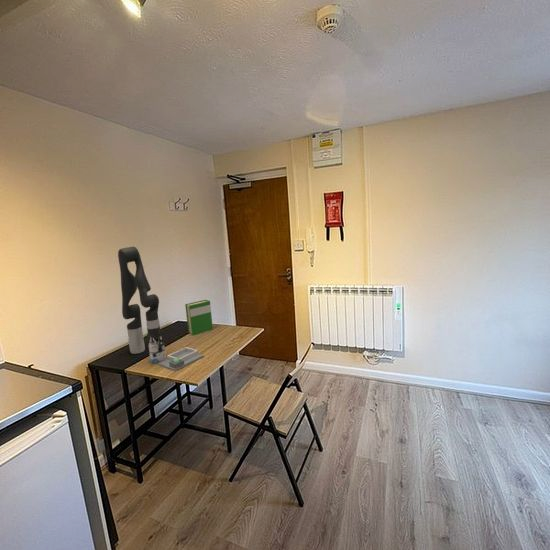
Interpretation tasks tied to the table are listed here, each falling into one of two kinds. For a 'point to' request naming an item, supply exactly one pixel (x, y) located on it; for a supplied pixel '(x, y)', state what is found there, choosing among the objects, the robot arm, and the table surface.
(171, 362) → the grey tray
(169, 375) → the table surface
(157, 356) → the ink box
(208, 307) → the hardback book
